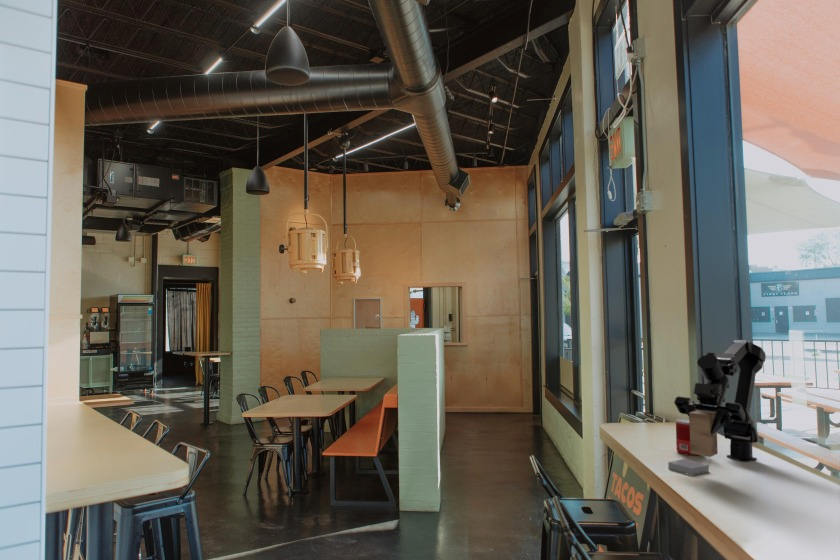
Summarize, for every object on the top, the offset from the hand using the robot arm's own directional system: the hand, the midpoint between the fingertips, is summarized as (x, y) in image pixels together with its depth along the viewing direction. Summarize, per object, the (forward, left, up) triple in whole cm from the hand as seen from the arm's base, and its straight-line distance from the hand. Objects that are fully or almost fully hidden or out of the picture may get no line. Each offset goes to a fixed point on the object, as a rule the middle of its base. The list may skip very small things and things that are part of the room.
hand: (701, 431), depth 161 cm
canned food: (-20, -22, -13) cm, 32 cm away
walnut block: (-1, 0, -7) cm, 7 cm away
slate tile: (-2, -7, -14) cm, 15 cm away
